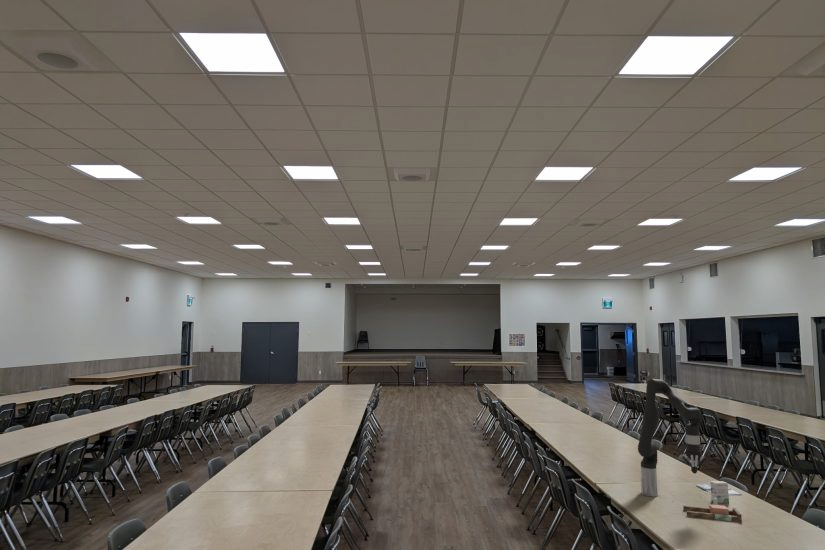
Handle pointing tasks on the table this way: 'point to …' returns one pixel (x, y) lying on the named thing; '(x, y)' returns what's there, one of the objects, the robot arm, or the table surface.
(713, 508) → the block
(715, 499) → the post
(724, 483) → the ink box
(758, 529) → the table surface
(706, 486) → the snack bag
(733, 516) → the slot track
